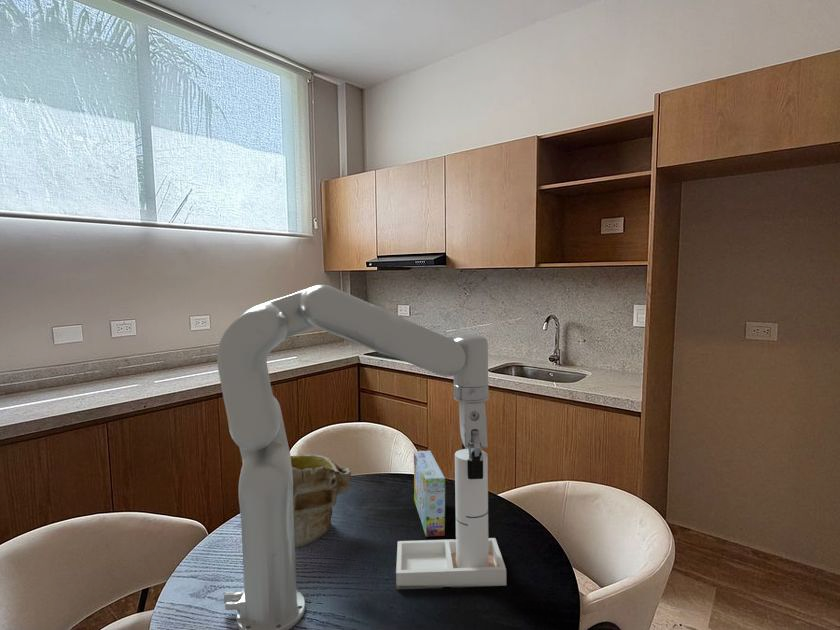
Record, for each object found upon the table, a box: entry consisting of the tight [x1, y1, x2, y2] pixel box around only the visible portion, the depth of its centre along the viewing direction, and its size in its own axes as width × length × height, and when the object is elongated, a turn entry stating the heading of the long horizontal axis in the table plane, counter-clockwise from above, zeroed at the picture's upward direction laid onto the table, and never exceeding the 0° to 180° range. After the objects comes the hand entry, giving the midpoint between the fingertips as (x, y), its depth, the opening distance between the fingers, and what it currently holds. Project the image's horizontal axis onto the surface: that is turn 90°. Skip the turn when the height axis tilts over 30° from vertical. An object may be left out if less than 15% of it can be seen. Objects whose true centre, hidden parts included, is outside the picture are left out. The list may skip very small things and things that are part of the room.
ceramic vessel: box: [290, 453, 352, 549], centre depth 117 cm, size 23×24×25 cm
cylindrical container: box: [454, 448, 489, 568], centre depth 99 cm, size 7×7×25 cm
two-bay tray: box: [395, 537, 507, 590], centre depth 100 cm, size 23×12×4 cm, turn 91°
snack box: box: [413, 450, 446, 538], centre depth 123 cm, size 21×6×15 cm, turn 9°
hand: (472, 469), depth 99 cm, fingers open, 9 cm apart
